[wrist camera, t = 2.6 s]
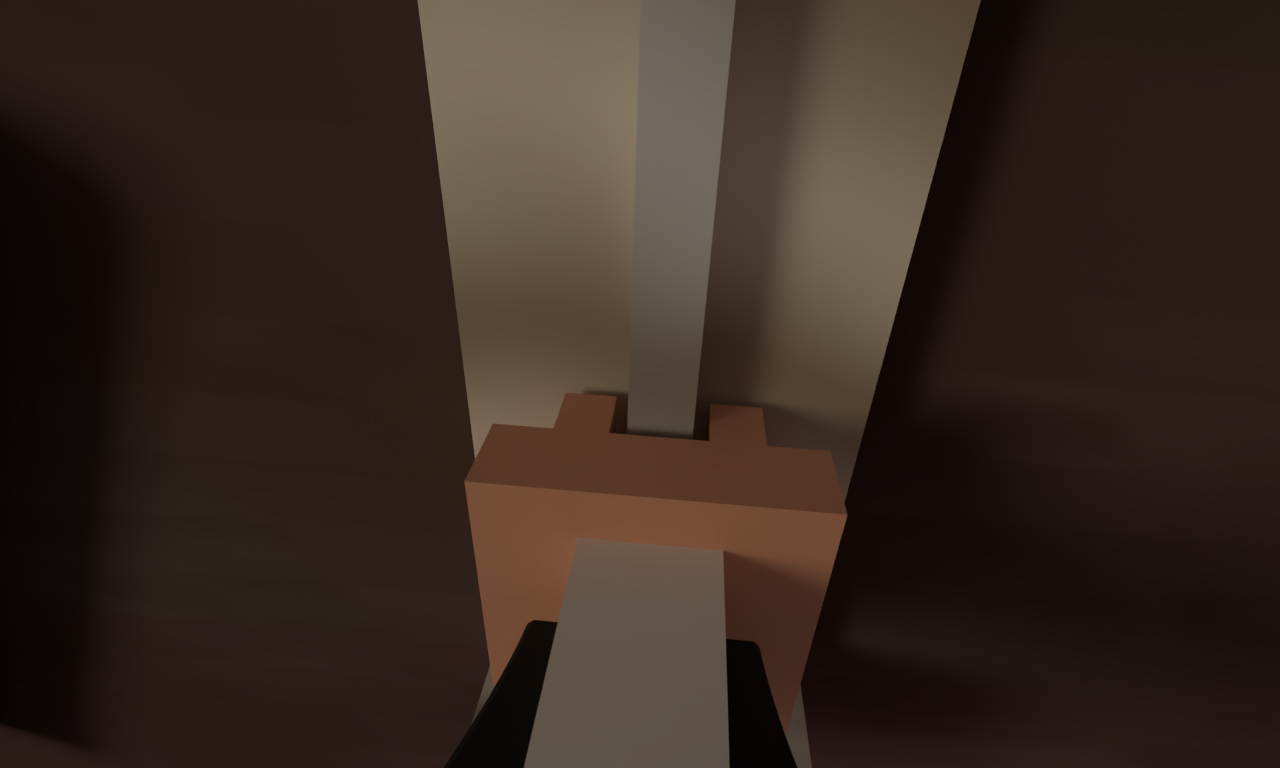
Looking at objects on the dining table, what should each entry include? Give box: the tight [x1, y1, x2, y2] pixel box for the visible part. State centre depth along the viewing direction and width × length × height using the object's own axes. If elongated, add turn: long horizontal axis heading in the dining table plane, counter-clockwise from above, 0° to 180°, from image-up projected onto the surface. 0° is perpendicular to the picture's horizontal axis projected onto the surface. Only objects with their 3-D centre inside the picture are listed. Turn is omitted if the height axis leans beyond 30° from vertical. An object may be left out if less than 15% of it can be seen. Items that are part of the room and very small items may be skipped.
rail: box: [418, 0, 981, 768], centre depth 11 cm, size 23×8×7 cm, turn 178°
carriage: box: [465, 393, 847, 768], centre depth 11 cm, size 6×6×8 cm
